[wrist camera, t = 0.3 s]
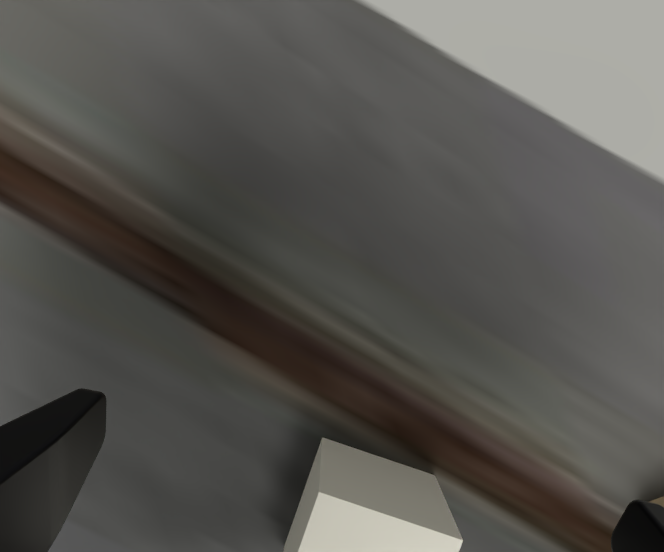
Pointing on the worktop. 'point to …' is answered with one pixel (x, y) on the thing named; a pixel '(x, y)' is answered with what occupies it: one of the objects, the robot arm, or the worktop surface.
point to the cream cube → (370, 507)
